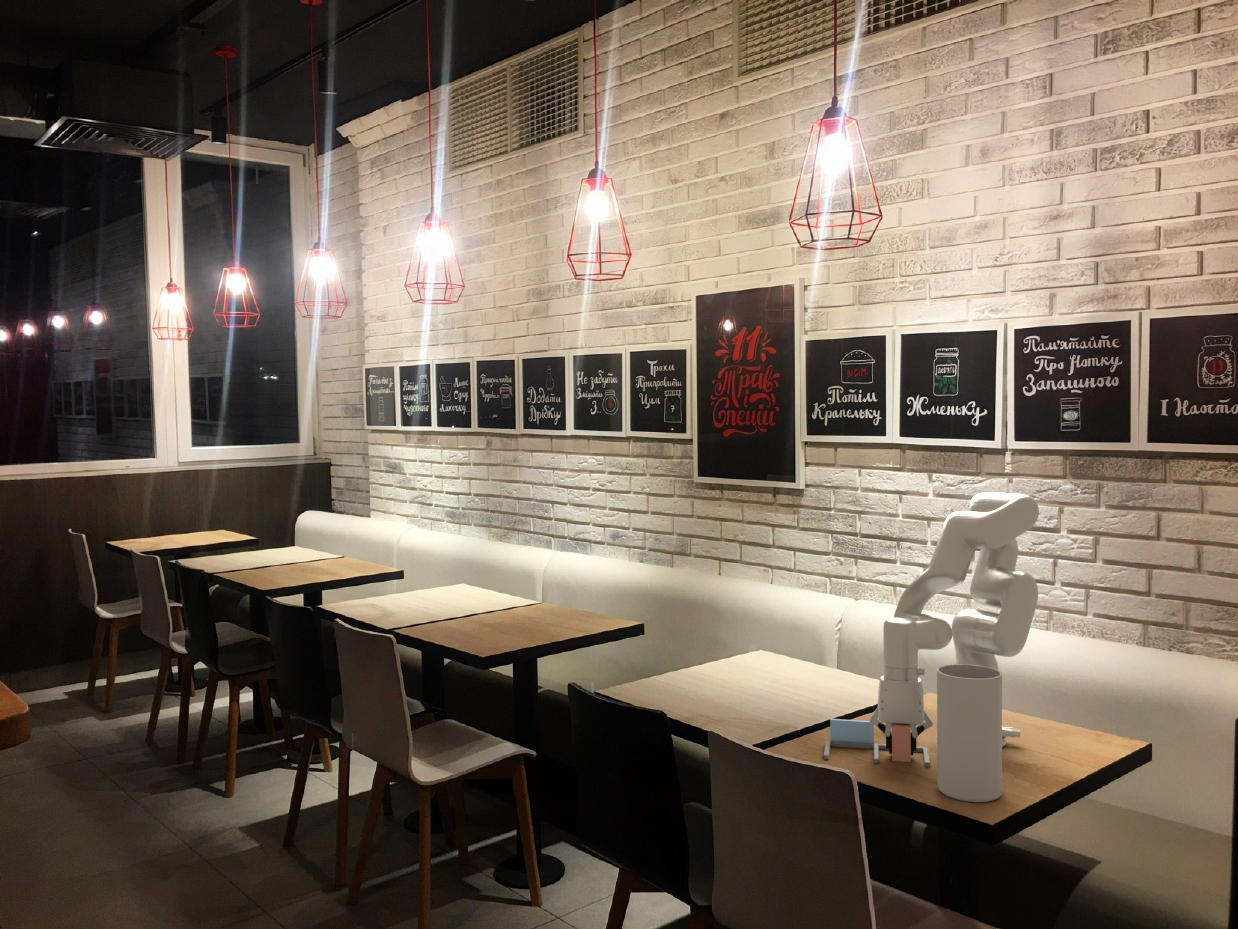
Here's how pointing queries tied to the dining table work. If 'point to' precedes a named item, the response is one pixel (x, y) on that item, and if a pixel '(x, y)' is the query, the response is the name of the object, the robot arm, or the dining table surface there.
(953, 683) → the cylinder vase
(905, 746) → the plug block
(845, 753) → the dining table surface
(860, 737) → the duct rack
